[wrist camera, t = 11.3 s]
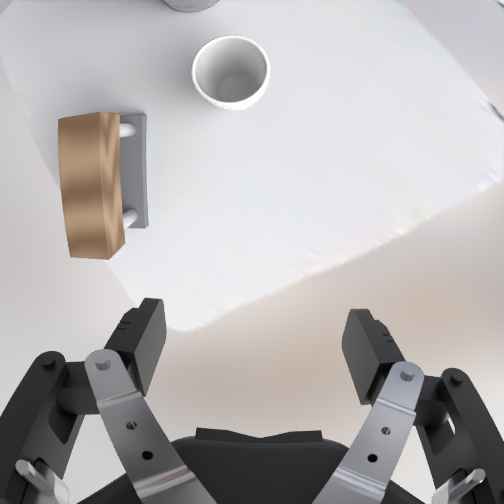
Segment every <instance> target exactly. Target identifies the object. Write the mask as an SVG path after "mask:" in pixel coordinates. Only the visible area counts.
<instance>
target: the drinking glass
mask: <svg viewBox="0 0 504 504" xmlns="http://www.w3.org/2000/svg"><path fill="white" fill-rule="evenodd" d="M191 76H192V80H193V83H194V86H195V88H196V89H197V91H198V92H199V93H200V94H201V95H202V96H203V97H204V98H205V99H206V100H207V101H208V102H210V103H211V104H213V105H215V106H217V107H220V108H223V109H229V110H243V109H246V108H249V107H250V106H252V105H253V104H254V103H255V102H256V101H257V100H258V99H259V98H260V97H261V96H262V95H263V93H264V92H265V90H266V88H267V85H268V82H269V77H270V63H269V59H268V57H267V55H266V53H265V51H264V50H263V49H262V48H261V46H259V45H258V44H257V43H256V42H254V41H253V40H251V39H249V38H246V37H243V36H238V35H226V36H221V37H218V38H215V39H213V40H211V41H209V42H208V43H206V44H205V45H204V46H203V47H202V48H201V49H200V50H199V51H198V52H197V54H196V56H195V58H194V60H193V63H192V68H191Z"/></svg>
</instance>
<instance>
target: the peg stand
mask: <svg viewBox="0 0 504 504" xmlns="http://www.w3.org/2000/svg"><path fill="white" fill-rule="evenodd" d="M120 182H121V200H122V214H123V226H124V230H125V229H126V228H146V227H147V226H148V225H149V224H148V207H147V182H146V115H132V116H122V117H120Z"/></svg>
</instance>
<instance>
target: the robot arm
mask: <svg viewBox="0 0 504 504" xmlns="http://www.w3.org/2000/svg"><path fill="white" fill-rule="evenodd" d="M164 1H165V2H166V3H167V4H168V5H169V6H170V7H171V8H173V9H175V10H178V11H182V12H195V11H200V10H204V9H206V8H209V7H211V6H213V5H214V4H215V3H217V2H218V1H219V0H164ZM165 340H166V322H165V313H164V304H163V300H162V299H155V298H144V300H143V301H142V303H141V305H140V307H139V308H132V309H130V310H129V311H128V312H127V313H125V314H124V316H123V317H122V319H121V320H120V323H119V324H118V325H117V327H116V329H115V330H114V332H113V334H112V335H111V337H110V339H109V340H108V342H107V344H106V345H105V347H104V349H101V350H97V351H94V352H92V353H91V354H90V355H88V356H87V358H86V360H85V361H82V362H66V360H65V358H64V356H63V355H62V354H61V353H59V352H56V351H48V352H45V353H42V354H40V355H39V356H38V357H37V358H36V359H35V360H34V362H33V363H32V365H31V366H30V368H29V370H28V371H27V373H26V374H25V376H24V377H23V379H22V381H21V382H20V384H19V386H18V387H17V389H16V390H15V392H14V394H13V395H12V397H11V399H10V401H9V402H8V404H7V406H6V408H5V410H4V411H3V413H2V415H1V417H0V504H69V491H68V488H67V486H66V485H65V483H64V482H63V481H62V479H63V476H64V473H65V470H66V467H67V464H68V461H69V457H70V455H71V452H72V449H73V446H74V443H75V440H76V438H77V435H78V432H79V429H80V427H81V424H82V422H83V419H84V416H85V415H86V414H89V415H91V414H100V415H101V417H102V419H103V422H104V424H105V427H106V429H107V432H108V434H109V436H110V439H111V441H112V443H113V445H114V448H115V450H116V452H117V454H118V456H119V459H120V461H121V463H122V465H123V466H124V469H125V471H126V473H125V474H123V475H122V476H120V477H119V478H117V479H116V480H114V481H113V482H111V483H110V484H108V485H106V486H105V487H103V488H102V489H100V490H99V491H97V492H95V493H94V494H92V495H90V496H89V497H87V498H86V499H84V500H82V501H80V502H79V503H77V504H425V503H424V502H422V501H421V500H419V499H418V498H416V497H415V496H413V495H412V494H410V493H409V492H407V491H406V490H405V489H403V488H402V487H400V486H399V485H397V484H396V483H395V482H393V481H392V480H390V478H391V476H392V474H393V471H394V469H395V467H396V465H397V462H398V460H399V458H400V456H401V453H402V451H403V448H404V445H405V443H406V441H407V438H408V435H409V433H410V430H411V427H412V425H413V426H416V429H417V432H418V434H419V437H420V440H421V443H422V446H423V449H424V452H425V455H426V459H427V462H428V465H429V468H430V471H431V475H432V478H433V482H434V485H435V488H436V491H435V493H434V494H433V497H432V504H504V441H503V439H502V437H501V435H500V433H499V431H498V429H497V427H496V425H495V423H494V421H493V419H492V418H491V416H490V414H489V412H488V410H487V408H486V406H485V404H484V403H483V401H482V399H481V397H480V395H479V394H478V392H477V390H476V389H475V387H474V385H473V384H472V382H471V380H470V378H469V377H468V375H467V374H466V373H464V372H463V371H461V370H459V369H456V368H448V369H446V370H444V371H443V373H442V375H441V377H433V376H426V375H424V373H423V371H422V370H421V368H420V367H418V366H417V365H415V364H414V363H411V362H407V361H405V359H404V357H403V355H402V353H401V351H400V350H399V348H398V346H397V344H396V343H395V342H394V339H393V337H392V336H391V335H390V332H389V331H388V329H387V327H386V326H385V325H384V324H382V323H381V322H380V321H379V320H374V318H373V317H372V315H371V313H370V311H369V310H368V309H351V310H350V312H349V315H348V319H347V322H346V326H345V330H344V333H343V337H342V350H343V353H344V356H345V359H346V362H347V365H348V367H349V371H350V373H351V376H352V379H353V382H354V385H355V388H356V391H357V394H358V397H359V400H360V403H361V405H368V404H371V405H372V409H371V411H370V413H369V415H368V417H367V419H366V421H365V422H364V424H363V426H362V428H361V430H360V431H359V433H358V435H357V437H356V438H355V440H354V442H353V443H352V445H351V447H350V448H348V447H346V446H344V445H342V444H340V443H338V442H335V441H332V440H328V439H323V438H322V433H321V430H320V431H319V430H318V431H298V432H297V431H296V432H287V433H283V434H278V435H274V436H269V437H264V438H256V437H252V436H248V435H244V434H240V433H236V432H232V431H229V430H218V429H206V428H197V430H196V435H195V436H190V437H184V438H181V439H177V440H175V441H173V442H169V440H168V438H167V437H166V435H165V433H164V432H163V430H162V429H161V427H160V425H159V424H158V422H157V421H156V419H155V417H154V415H153V414H152V412H151V410H150V408H149V407H148V405H147V403H146V401H145V400H144V398H143V397H146V394H147V391H148V388H149V385H150V382H151V380H152V377H153V374H154V371H155V368H156V365H157V363H158V360H159V357H160V355H161V352H162V349H163V346H164V344H165ZM449 417H450V418H451V420H452V422H453V424H454V427H455V434H454V433H453V430H452V428H451V426H450V424H449V421H448V418H449Z"/></svg>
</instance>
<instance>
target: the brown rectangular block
mask: <svg viewBox="0 0 504 504" xmlns="http://www.w3.org/2000/svg"><path fill="white" fill-rule="evenodd" d="M58 145H59V169H60V183H61V195H62V204H63V213H64V220H65V228H66V234H67V241H68V247H69V252H70V257H76V258H90V259H91V258H92V259H106V260H109V259H110V258H111V257H112V256H113V255H114V254H115V253H116V252H117V251H118V250H119V249H120V248H121V247H122V246H123V245H124V244H125V236H124V226H123V214H122V200H121V182H120V113H107V112H97V113H90V114H84V115H78V116H72V117H67V118H61V119H58Z"/></svg>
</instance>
